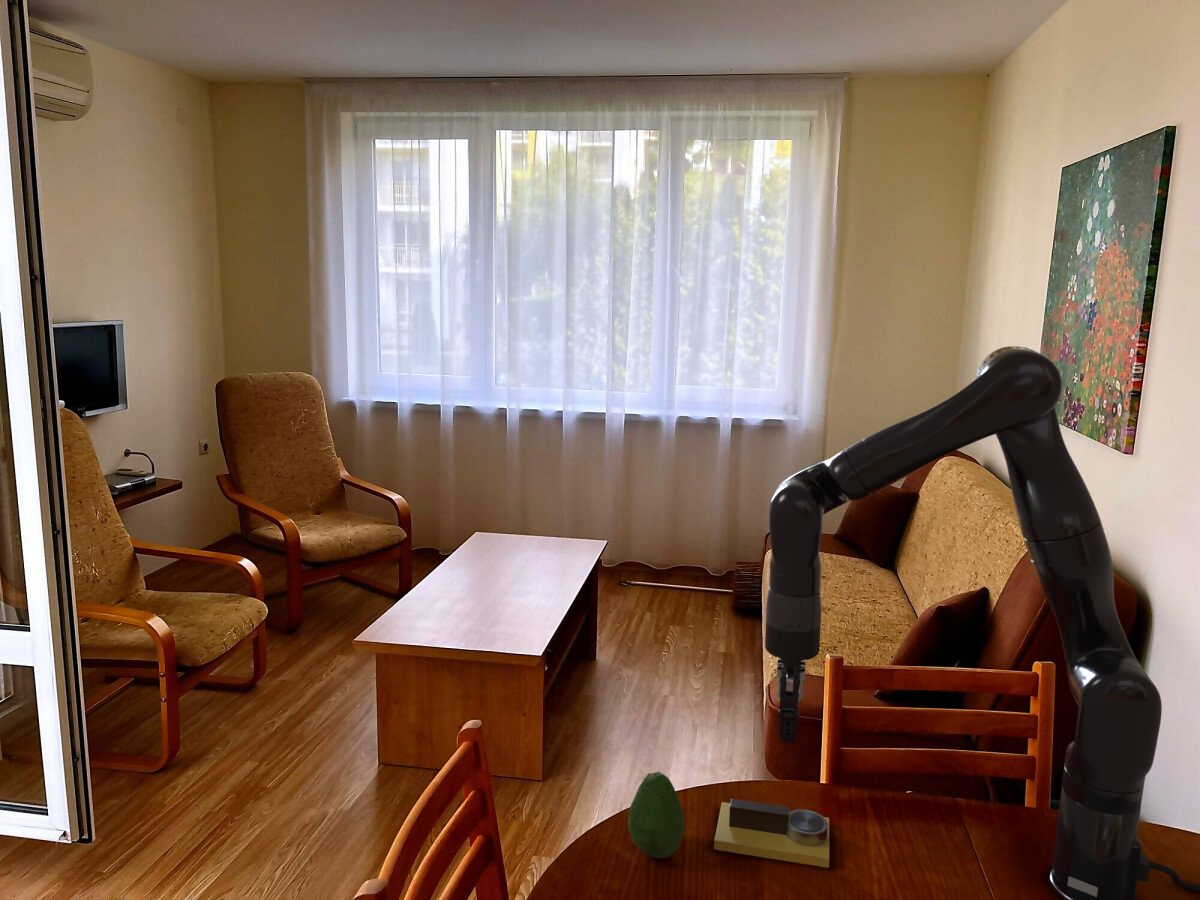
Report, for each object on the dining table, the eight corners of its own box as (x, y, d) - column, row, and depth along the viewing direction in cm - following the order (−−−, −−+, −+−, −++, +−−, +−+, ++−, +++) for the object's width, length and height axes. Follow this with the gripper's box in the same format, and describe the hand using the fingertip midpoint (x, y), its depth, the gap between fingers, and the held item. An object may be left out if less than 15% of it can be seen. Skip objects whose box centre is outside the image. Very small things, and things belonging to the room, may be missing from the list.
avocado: (661, 830, 134) (663, 755, 132) (694, 858, 128) (697, 781, 126) (616, 847, 130) (617, 771, 128) (648, 878, 124) (650, 798, 121)
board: (828, 826, 136) (829, 817, 136) (828, 868, 126) (829, 858, 126) (721, 810, 140) (722, 801, 139) (714, 849, 130) (714, 840, 130)
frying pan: (827, 825, 134) (828, 805, 133) (827, 849, 128) (828, 829, 127) (731, 810, 137) (732, 791, 136) (727, 834, 131) (728, 814, 131)
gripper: (820, 641, 119) (815, 755, 122) (820, 604, 133) (816, 707, 136) (762, 636, 121) (759, 748, 124) (768, 600, 135) (765, 702, 138)
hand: (788, 726), depth 130 cm, fingers open, 8 cm apart
